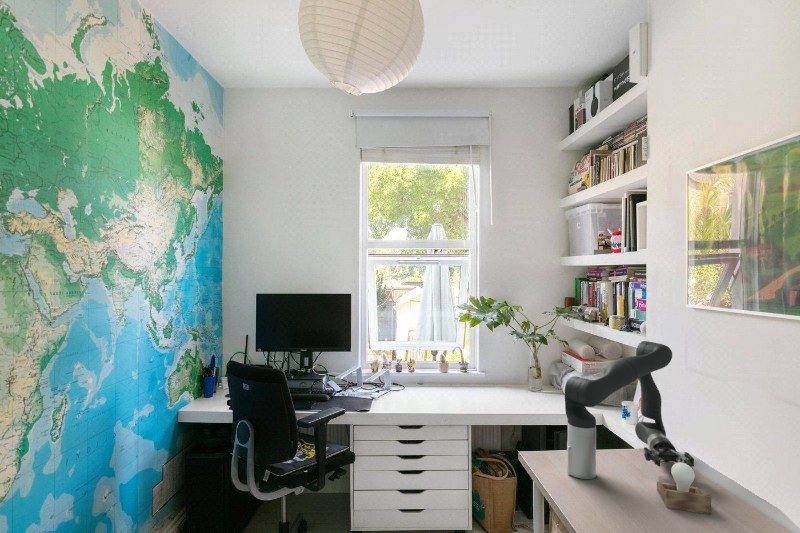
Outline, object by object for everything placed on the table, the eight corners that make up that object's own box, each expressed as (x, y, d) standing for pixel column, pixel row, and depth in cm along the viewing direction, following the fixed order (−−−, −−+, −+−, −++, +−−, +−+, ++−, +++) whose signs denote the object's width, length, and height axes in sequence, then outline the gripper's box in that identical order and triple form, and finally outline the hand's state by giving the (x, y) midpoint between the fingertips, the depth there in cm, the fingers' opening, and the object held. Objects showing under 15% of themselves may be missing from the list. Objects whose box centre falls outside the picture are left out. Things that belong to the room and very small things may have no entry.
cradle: (666, 507, 130) (666, 490, 130) (656, 489, 140) (656, 474, 141) (711, 514, 126) (711, 497, 126) (697, 495, 137) (697, 479, 137)
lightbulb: (698, 505, 130) (698, 468, 130) (676, 503, 131) (676, 466, 131) (689, 495, 136) (689, 460, 136) (667, 493, 137) (667, 458, 137)
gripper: (639, 434, 160) (649, 451, 144) (683, 439, 155) (699, 457, 140) (639, 454, 160) (649, 473, 144) (683, 460, 155) (699, 480, 140)
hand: (673, 465), depth 142 cm, fingers open, 8 cm apart
